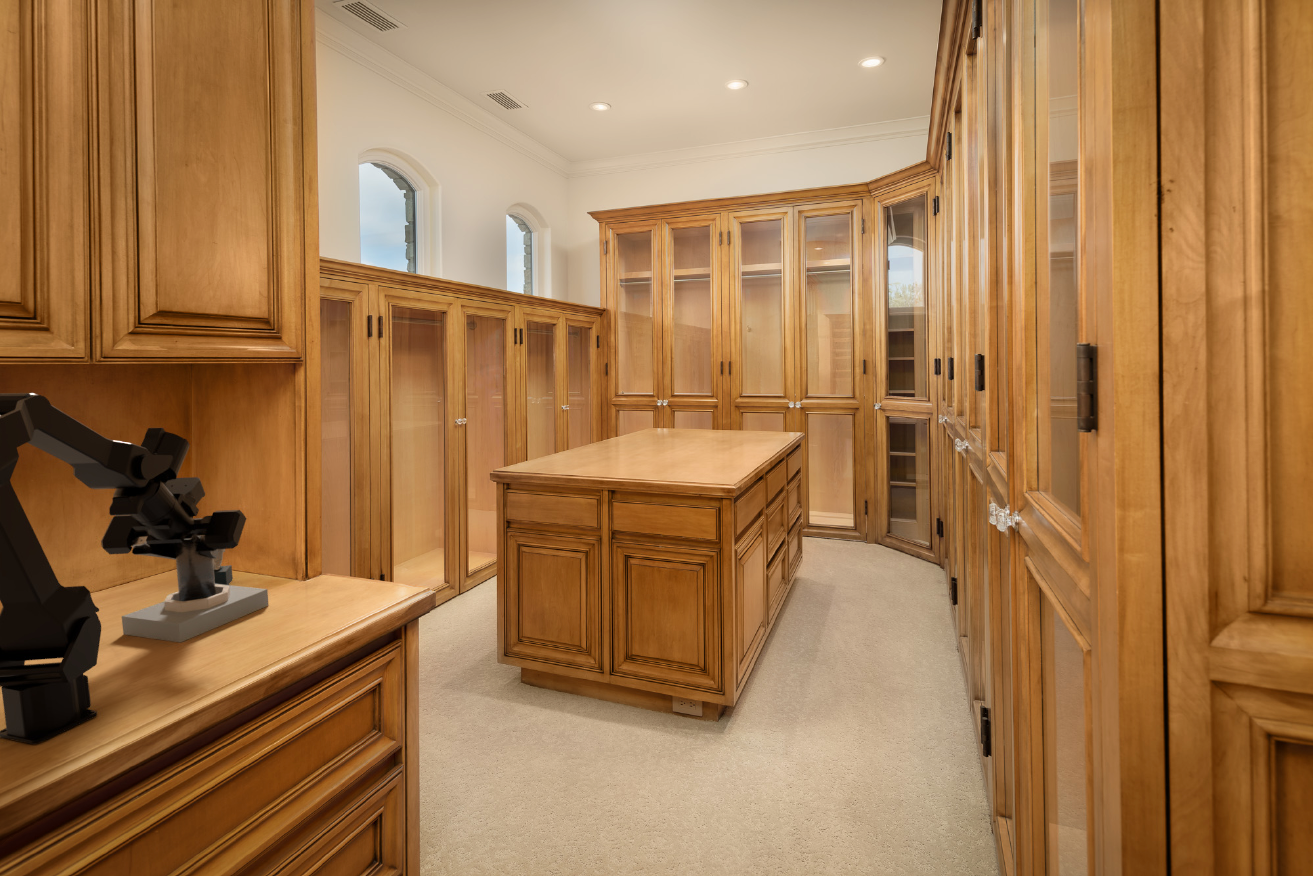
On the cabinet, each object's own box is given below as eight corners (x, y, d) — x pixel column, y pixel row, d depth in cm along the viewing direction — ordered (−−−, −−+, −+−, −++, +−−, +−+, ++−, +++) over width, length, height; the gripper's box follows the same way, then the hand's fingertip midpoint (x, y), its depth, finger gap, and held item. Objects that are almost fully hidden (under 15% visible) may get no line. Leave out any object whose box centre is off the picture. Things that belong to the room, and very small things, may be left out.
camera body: (180, 642, 99) (177, 614, 98) (123, 634, 102) (120, 607, 101) (268, 605, 114) (266, 581, 113) (216, 599, 117) (214, 575, 117)
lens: (208, 600, 106) (201, 524, 104) (173, 603, 104) (166, 526, 103) (221, 590, 110) (215, 517, 109) (188, 593, 109) (181, 519, 108)
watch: (235, 577, 130) (230, 524, 129) (224, 590, 122) (219, 534, 121) (202, 580, 128) (197, 527, 127) (189, 593, 120) (184, 536, 119)
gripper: (236, 461, 103) (270, 514, 115) (106, 465, 100) (155, 518, 112) (214, 520, 96) (254, 570, 108) (74, 526, 93) (130, 576, 105)
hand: (199, 556), depth 108 cm, fingers closed on lens, 5 cm apart
